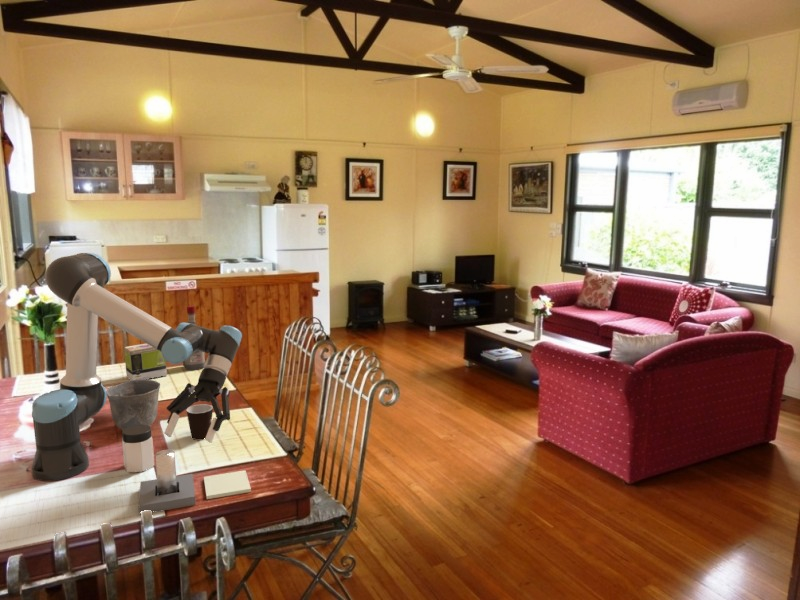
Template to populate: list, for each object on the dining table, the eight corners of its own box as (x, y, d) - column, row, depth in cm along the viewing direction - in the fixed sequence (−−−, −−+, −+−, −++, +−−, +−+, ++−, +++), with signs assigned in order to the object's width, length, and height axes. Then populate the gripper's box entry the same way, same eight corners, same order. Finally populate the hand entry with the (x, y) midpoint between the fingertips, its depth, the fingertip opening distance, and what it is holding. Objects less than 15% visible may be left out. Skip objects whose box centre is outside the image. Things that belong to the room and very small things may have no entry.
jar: (158, 460, 187) (155, 424, 185) (150, 472, 179) (147, 434, 177) (128, 461, 186) (126, 425, 184) (119, 473, 178) (116, 435, 176)
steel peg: (158, 503, 161) (155, 458, 159) (158, 494, 166) (155, 451, 164) (177, 500, 163) (174, 455, 161) (177, 491, 168) (174, 448, 165)
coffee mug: (206, 442, 201) (204, 414, 199) (183, 439, 203) (181, 412, 201) (222, 429, 212) (221, 402, 210) (200, 426, 214) (199, 400, 212)
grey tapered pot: (108, 422, 217) (105, 383, 214) (160, 414, 225) (157, 377, 222) (110, 440, 201) (106, 398, 199) (165, 431, 209) (162, 391, 207)
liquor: (206, 368, 284) (202, 307, 278) (186, 371, 279) (182, 309, 274) (201, 363, 291) (198, 304, 286) (182, 366, 287) (179, 305, 282)
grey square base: (139, 514, 156) (138, 505, 155) (141, 489, 168) (140, 481, 168) (195, 504, 161) (195, 496, 160) (193, 481, 173) (192, 473, 173)
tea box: (159, 371, 279) (157, 340, 276) (167, 376, 271) (165, 345, 269) (125, 377, 269) (123, 345, 267) (132, 382, 262) (130, 350, 259)
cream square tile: (206, 499, 164) (206, 496, 163) (203, 479, 175) (203, 476, 174) (251, 491, 168) (250, 488, 168) (245, 473, 179) (245, 470, 179)
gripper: (255, 382, 182) (231, 448, 170) (185, 374, 188) (157, 437, 177) (246, 370, 176) (220, 438, 164) (173, 363, 182) (144, 427, 171)
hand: (187, 438), depth 170 cm, fingers open, 13 cm apart
